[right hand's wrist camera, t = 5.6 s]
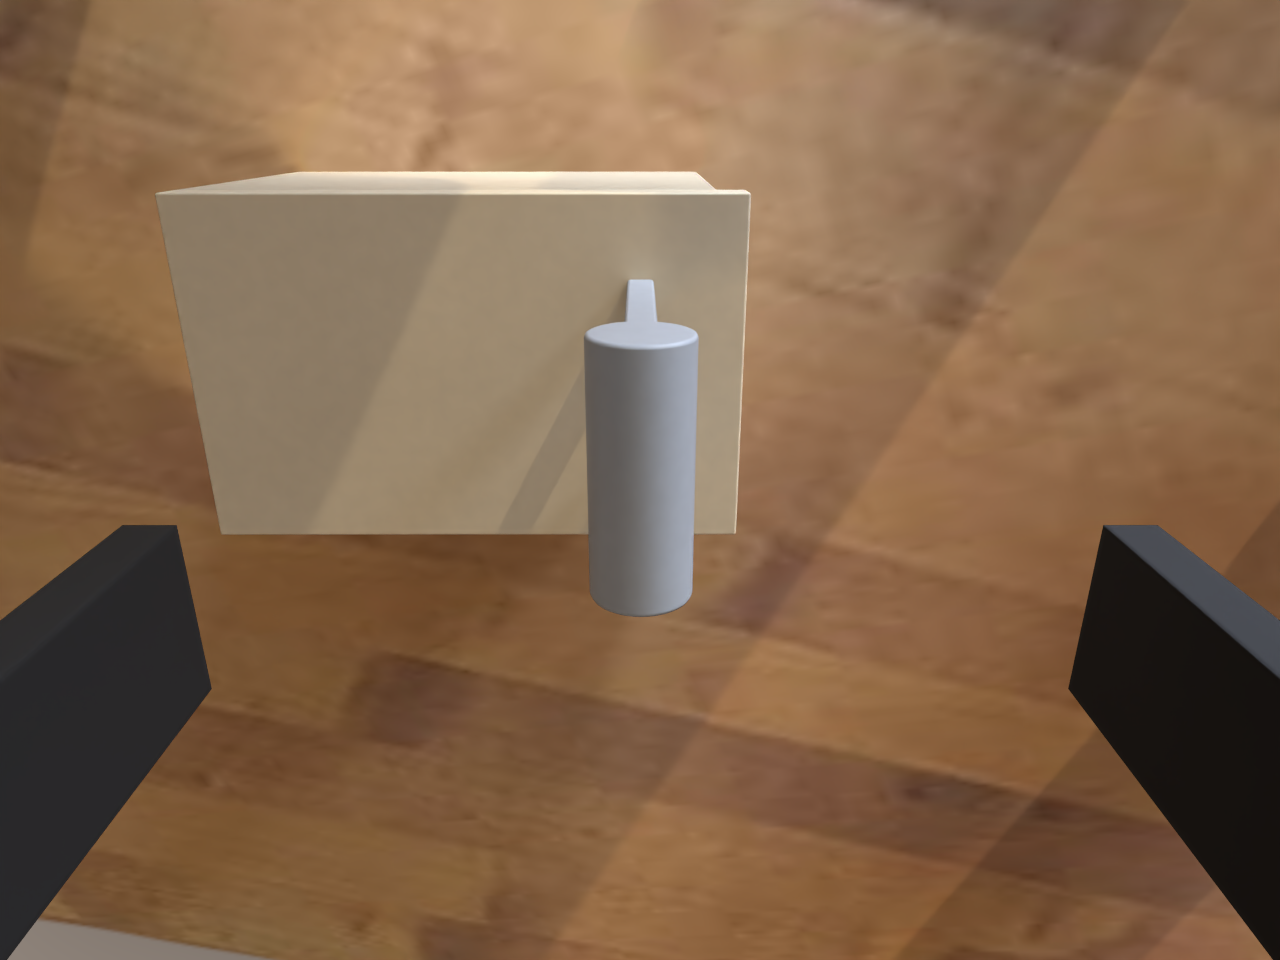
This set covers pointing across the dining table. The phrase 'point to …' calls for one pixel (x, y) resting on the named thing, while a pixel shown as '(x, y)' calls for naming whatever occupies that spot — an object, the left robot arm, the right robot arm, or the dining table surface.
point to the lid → (472, 366)
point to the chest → (470, 181)
